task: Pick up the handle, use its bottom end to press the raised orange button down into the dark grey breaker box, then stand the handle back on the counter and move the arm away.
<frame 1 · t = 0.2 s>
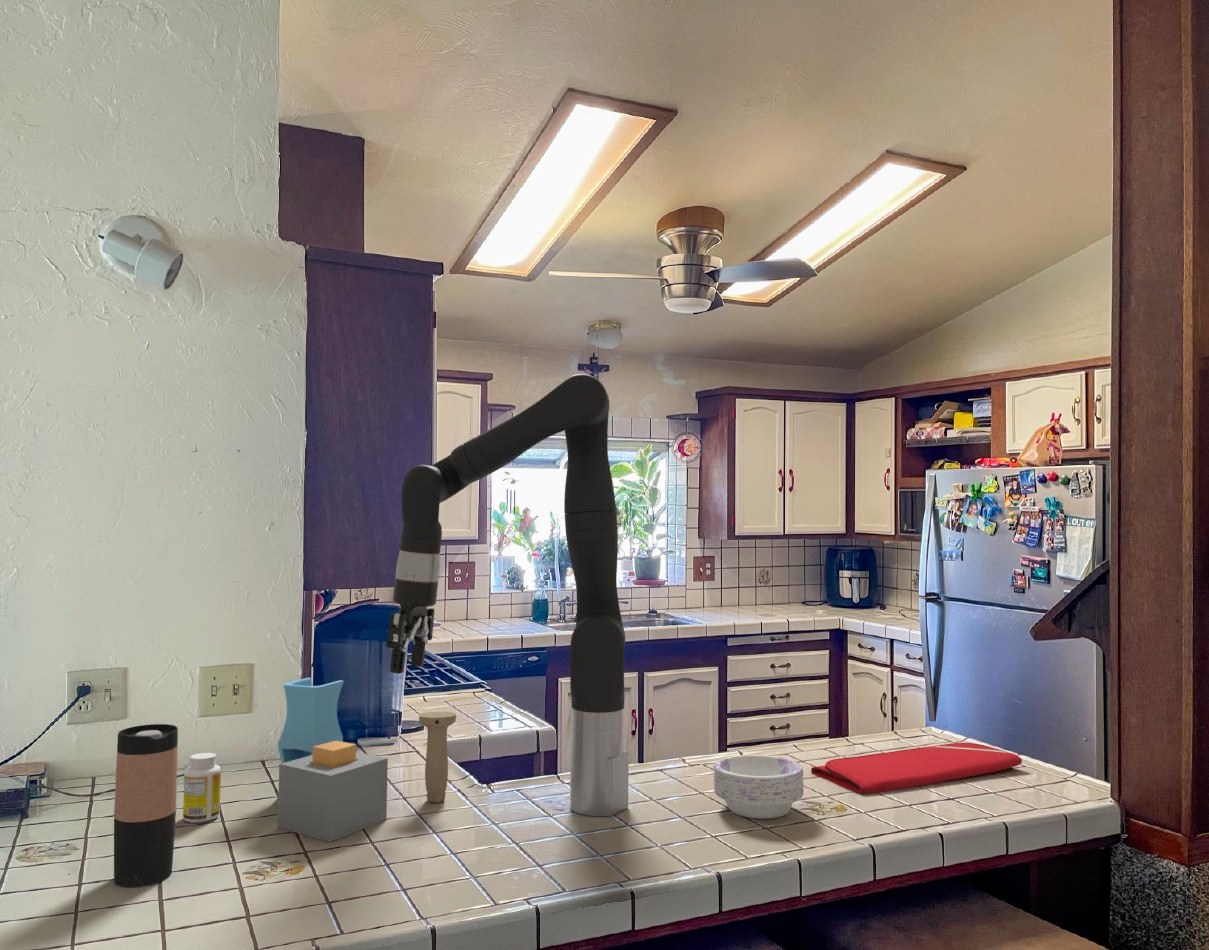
hand: (407, 669, 157), 23 cm above the worktop, tool pointing down, fingers open, 8 cm apart
travel mug: (143, 878, 123), on the worktop
handle: (436, 801, 157), on the worktop
breaker box: (332, 823, 145), on the worktop
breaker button: (334, 757, 145), point 11 cm above the worktop, slide at 0.0 cm
supplement bottle: (201, 819, 147), on the worktop
vase: (309, 796, 159), on the worktop
paper bowls: (758, 812, 153), on the worktop
dish drying mat: (917, 775, 178), on the worktop
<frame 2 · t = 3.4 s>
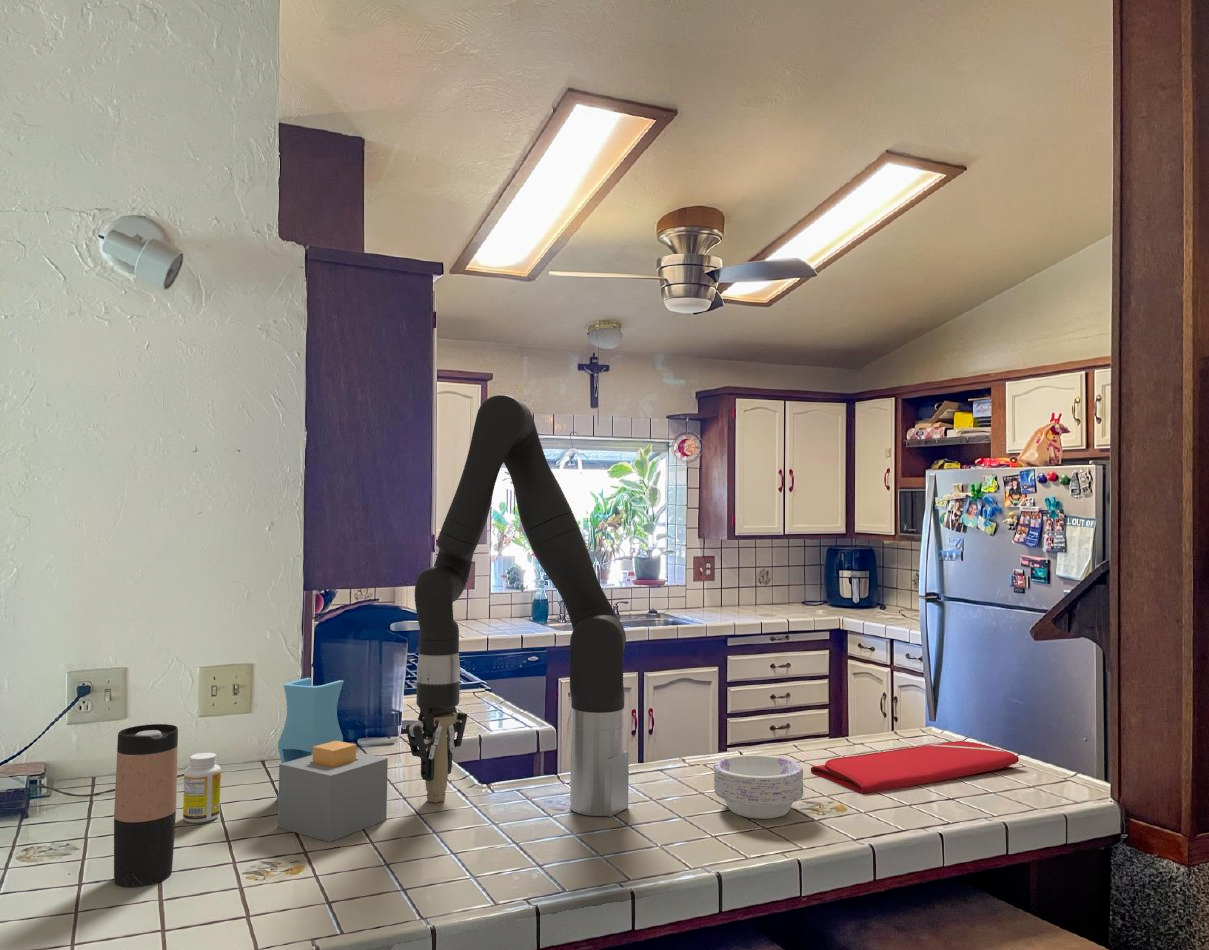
hand: (436, 776, 157), 4 cm above the worktop, tool pointing down, fingers closed on handle, 4 cm apart
handle: (436, 801, 157), on the worktop, touching gripper
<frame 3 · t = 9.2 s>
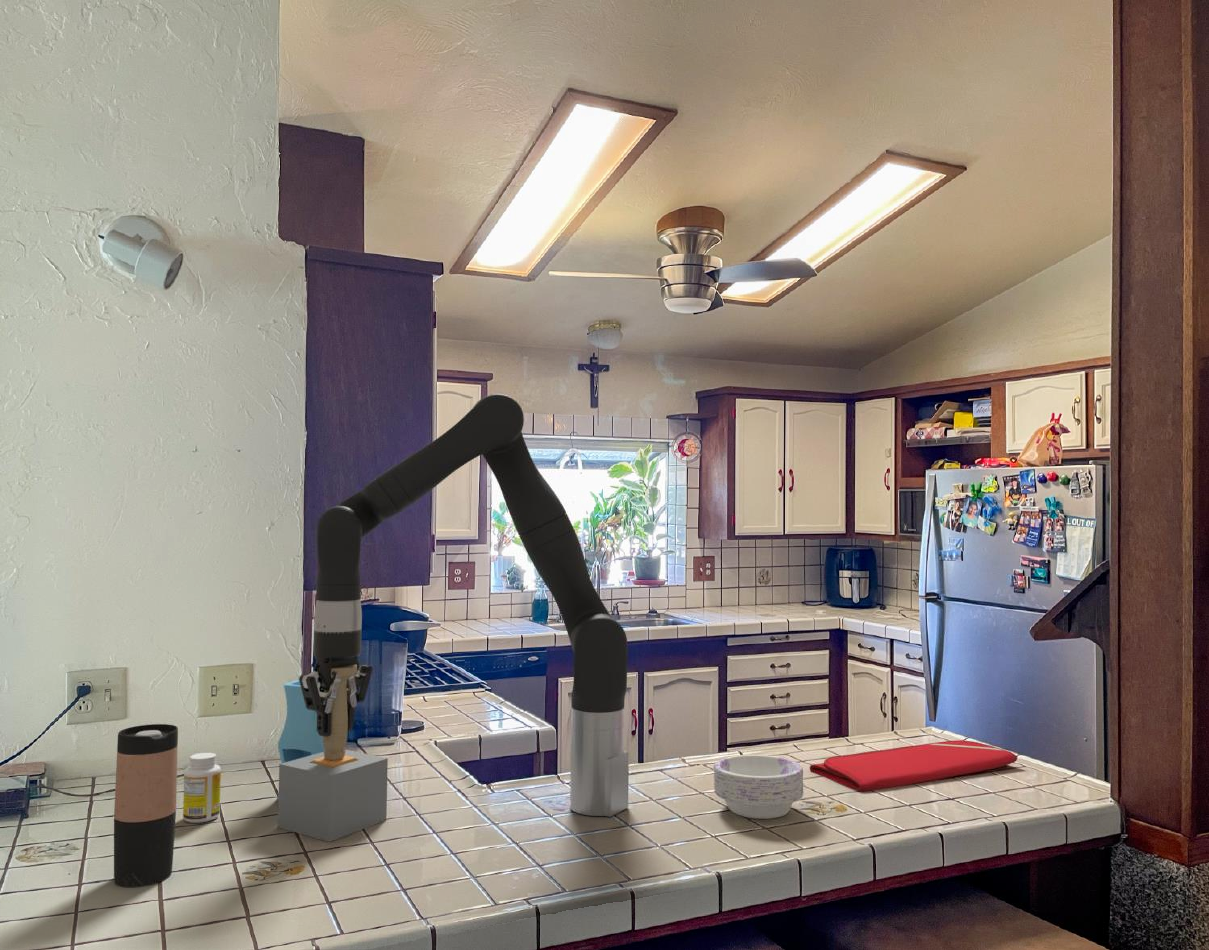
hand: (335, 732, 145), 15 cm above the worktop, tool pointing down, fingers closed on handle, 4 cm apart
handle: (334, 759, 145), point 10 cm above the worktop, touching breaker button, gripper
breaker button: (334, 771, 145), point 8 cm above the worktop, slide at 2.1 cm, touching handle
dish drying mat: (914, 773, 179), on the worktop
everything else where it was.
when the fingers open (5 cm above the worktop, at t = 15.9 s): handle stays where it is, on the worktop.
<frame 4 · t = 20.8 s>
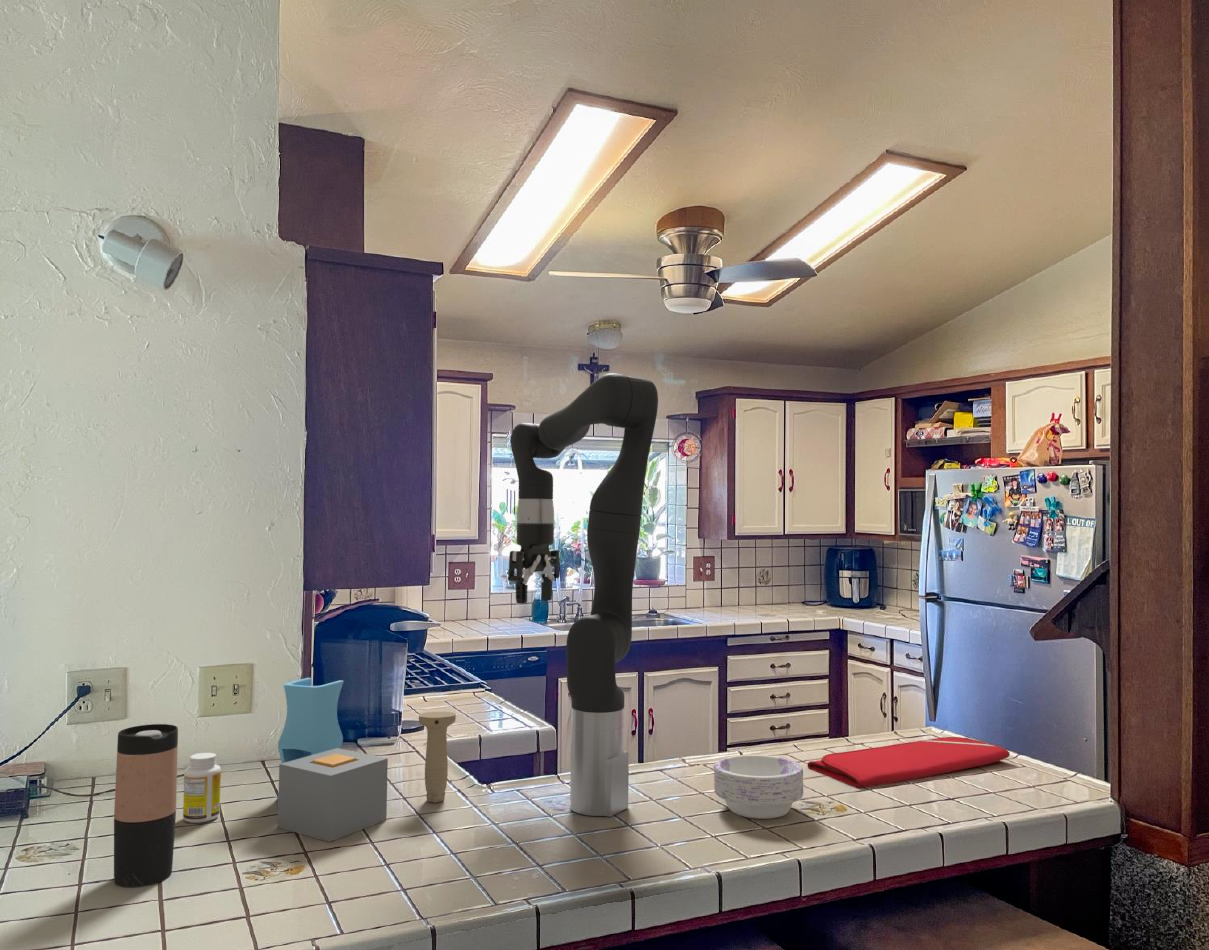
hand: (534, 601, 180), 33 cm above the worktop, tool pointing down, fingers open, 8 cm apart
handle: (435, 801, 157), on the worktop
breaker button: (334, 771, 145), point 8 cm above the worktop, slide at 2.2 cm
dish drying mat: (910, 769, 182), on the worktop
everything else where it was.
at the end: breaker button slide at 2.2 cm; handle inside the target area (0.1 cm from its centre), on the worktop; handle tilted 0° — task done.
